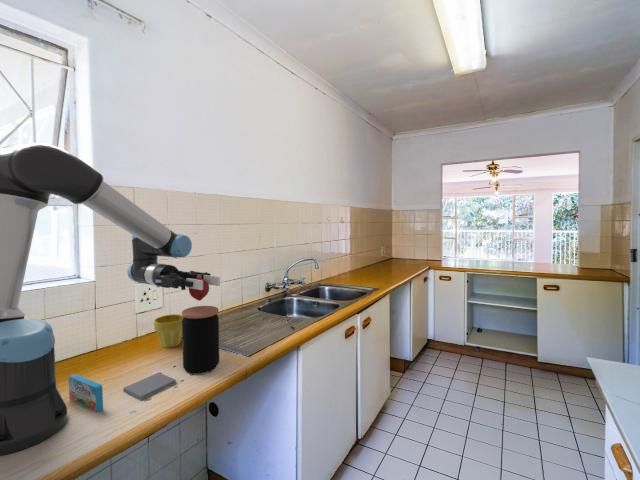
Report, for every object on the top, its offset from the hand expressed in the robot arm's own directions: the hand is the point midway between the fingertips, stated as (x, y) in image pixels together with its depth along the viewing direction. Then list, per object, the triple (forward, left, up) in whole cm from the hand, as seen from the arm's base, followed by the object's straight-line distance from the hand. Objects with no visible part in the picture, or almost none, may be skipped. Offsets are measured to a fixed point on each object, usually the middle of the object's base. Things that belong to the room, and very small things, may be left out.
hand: (210, 283), depth 96 cm
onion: (0, +5, -6) cm, 8 cm away
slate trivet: (-15, +7, -27) cm, 32 cm away
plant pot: (+6, +29, -27) cm, 41 cm away
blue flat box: (-28, +13, -27) cm, 41 cm away
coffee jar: (0, +5, -27) cm, 28 cm away
